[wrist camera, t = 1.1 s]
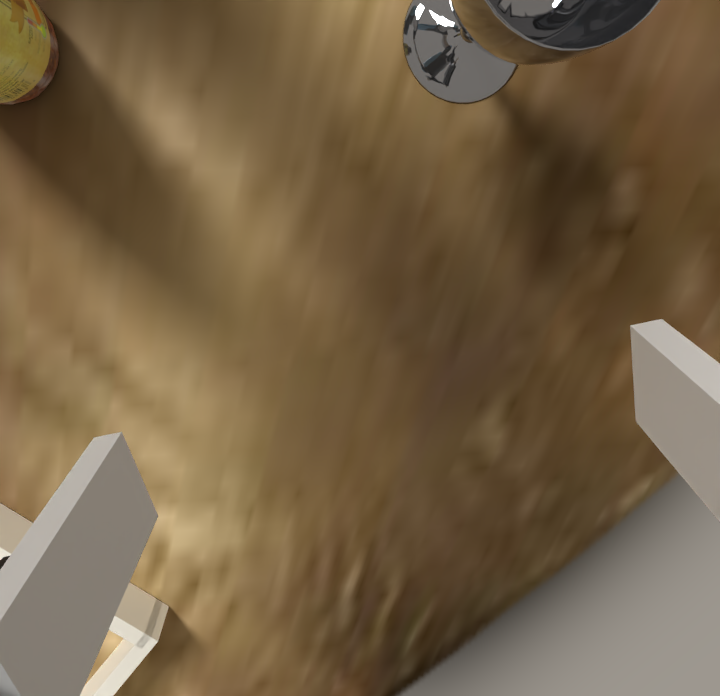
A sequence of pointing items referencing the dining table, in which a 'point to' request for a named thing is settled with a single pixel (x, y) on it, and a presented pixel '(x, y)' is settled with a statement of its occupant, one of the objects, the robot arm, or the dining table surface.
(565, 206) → the dining table surface
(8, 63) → the sauce bottle
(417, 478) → the dining table surface
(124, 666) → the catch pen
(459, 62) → the wine glass
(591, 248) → the dining table surface
